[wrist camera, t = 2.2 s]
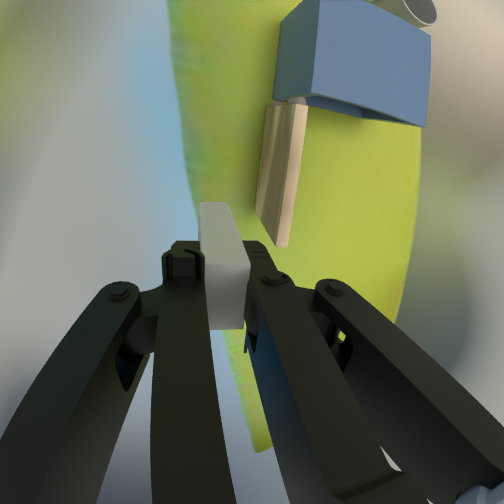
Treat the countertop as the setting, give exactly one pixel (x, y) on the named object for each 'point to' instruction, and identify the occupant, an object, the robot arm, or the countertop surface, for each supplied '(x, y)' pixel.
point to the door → (280, 167)
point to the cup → (410, 10)
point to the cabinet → (354, 61)
